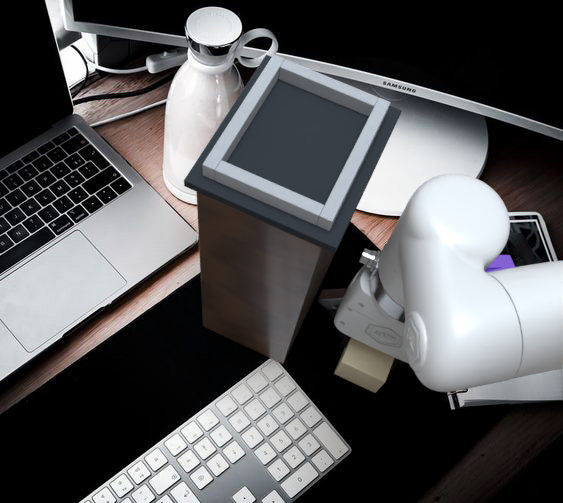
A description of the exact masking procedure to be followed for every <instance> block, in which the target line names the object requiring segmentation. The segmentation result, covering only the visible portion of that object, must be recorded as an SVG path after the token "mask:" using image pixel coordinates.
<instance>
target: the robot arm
mask: <svg viewBox="0 0 563 503" xmlns="http://www.w3.org/2000/svg"><path fill="white" fill-rule="evenodd" d="M510 230H511V219H510V214H509V211H508V208H507V207H506V205H505V202H504V201H503V199H502V198H501V196H500V195H499V194H498V193H497V192H496V190H495V189H493V188H492V187H491V186H490V185H488V184H487V183H486V182H484V181H482V180H480V179H478V178H477V177H473V176H471V175H467V174H462V173H444V174H440V175H436V176H434V177H431V178H429V179H428V180H425V181H424V182H423V183H422V184H421V185H420V186H419V187H417V188H416V189H415V191H414V192H413V193H412V195H411V196H410V197H409V199H408V201H407V203H406V205H405V207H404V209H403V211H402V213H401V215H400V216H399V218H398V219H397V222H396V223H395V226H394V228H393V229H392V232H391V233H390V236H389V237H388V239H387V241H386V242H385V243H384V246H383V248H382V249H381V250H377V251H376V250H370V249H367V248H364V250H363V251H362V254H361V256H360V258H359V260H358V262H359V263H360V264H363V266H361V268H360V269H359V270H358V271H357V273H356V274H355V275H354V276H353V278H352V280H351V282H349V285H348V286H347V287H344V288H342V287H341V288H332V289H331V288H329V289H322V290H321V292H320V294H319V296H318V299H317V302H318V303H319V304H320V305H321V306H322V307H323V308H324V309H326V310H327V311H330V312H329V316H330V317H331V318H332V319H333V324H334V326H335V328H336V329H337V330H338V333H337V337H339V338H341V341H340V342H339V346H338V348H340V349H342V350H344V349H345V347H346V346H347V344H348V342H349V340H350V339H351V337H352V338H354V339H356V340H358V341H360V342H362V343H364V344H366V345H368V346H371V347H373V348H375V349H377V350H379V351H381V352H384V353H386V354H388V355H390V356H392V357H395V358H394V360H393V363H392V366H391V368H390V371H389V372H392V370H394V369H395V367H396V366H397V365H400V366H402V365H403V364H404V363H407V364H409V367H410V368H411V369H412V371H413V372H414V374H415V376H416V377H417V379H418V381H419V382H420V383H421V384H422V385H423V386H425V387H426V388H428V389H429V390H431V391H435V392H439V393H449V392H450V393H451V392H457V391H458V392H459V391H463V390H469V389H474V388H477V387H482V386H487V385H491V384H497V383H502V382H505V381H510V380H512V379H519V378H522V377H527V376H532V375H537V374H542V373H546V372H553V371H558V370H561V377H560V384H561V385H560V386H561V399H562V400H563V260H553V261H546V262H541V263H540V262H537V263H533V264H527V265H519V266H515V267H514V268H508V269H503V270H497V271H492V272H485V270H486V269H487V268H488V267H489V266H490V264H491V263H492V262H493V261H494V260H495V259H496V258H497V257H498V255H501V253H502V252H503V250H504V248H505V247H506V245H507V242H508V239H509V236H510Z"/></svg>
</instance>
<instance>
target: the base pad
mask: <svg viewBox="0 0 563 503" xmlns="http://www.w3.org/2000/svg"><path fill="white" fill-rule="evenodd" d="M401 114H402V109H399V108H398V107H395V106H393V105H391V101H389V100H386V99H384V98H381V97H379V96H376V95H374V94H372V93H369V92H366V91H364V90H362V89H359V88H357V87H355V86H352V85H350V84H347V83H345V82H342V81H340V80H337V79H334V78H333V77H330V76H328V75H326V74H323V73H321V72H318V71H315V70H314V69H311V68H308V67H306V66H303V65H301V64H299V63H296V62H295V61H291V60H289V59H287V58H284V57H281V56H279V55H277V54H273V55H268V54H265V55H264V57H263V59H262V60H261V61H260V63H259V65H258V66H257V68H256V70H255V71H254V72H253V74H252V76H251V77H250V79H249V80H248V82H247V83H246V85H245V86H244V87H243V88H242V90H241V92H240V94H239V95H238V97H237V99H236V100H235V102H234V103H233V104H232V106H231V108H230V109H229V111H228V112H227V113H226V115H225V117H224V118H223V120H222V121H221V123H220V125H219V126H218V127H217V129H216V131H215V132H214V133H213V135H212V136H211V138H210V140H209V141H208V142H207V144H206V146H205V147H204V149H203V150H202V151H201V154H200V155H199V156H198V158H197V159H196V161H195V163H194V164H193V166H192V167H191V168H190V170H189V172H188V173H187V175H186V177H185V178H184V179H183V186H184V187H185V188H187V189H189V190H192V191H194V192H196V193H197V192H199V193H201V194H203V195H205V196H208V197H210V198H212V199H214V200H216V201H219V202H221V203H223V204H225V205H228V206H230V207H232V208H234V209H237V210H239V211H241V212H243V213H246V214H248V215H250V216H252V217H255V218H257V219H259V220H261V221H264V222H266V223H268V224H270V225H273V226H275V227H277V228H279V229H282V230H284V231H286V232H288V233H291V234H293V235H295V236H297V237H299V238H302V239H304V240H306V241H308V242H311V243H313V244H315V245H317V246H320V247H322V248H324V249H326V250H329V251H331V252H333V253H334V254H336V253H337V251H338V248H339V247H340V245H341V242H342V240H343V238H344V235H345V234H346V231H347V229H348V227H349V225H350V223H351V221H352V218H353V217H354V214H355V212H356V210H357V208H358V206H359V204H360V202H361V200H362V198H363V196H364V193H365V191H366V189H367V187H368V185H369V183H370V180H371V179H372V176H373V175H374V172H375V170H376V167H377V166H378V163H379V161H380V159H381V157H382V155H383V153H384V151H385V149H386V146H387V144H388V142H389V140H390V138H391V135H392V134H393V131H394V129H395V127H396V126H397V124H398V121H399V119H400V116H401Z"/></svg>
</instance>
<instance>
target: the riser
mask: <svg viewBox="0 0 563 503" xmlns="http://www.w3.org/2000/svg"><path fill="white" fill-rule="evenodd" d="M196 208H197V209H196V210H197V228H198V230H197V232H198V248H199V249H198V252H199V269H200V270H199V272H200V289H201V290H200V291H201V292H200V293H201V312H202V314H201V315H202V327H204V328H206V329H207V330H210V331H212V332H214V333H216V334H219V335H221V336H223V337H225V338H226V339H229V340H231V341H233V342H235V343H237V344H240V345H241V346H244V347H246V348H248V349H250V350H252V351H255V352H256V353H259V354H261V355H263V356H265V357H267V358H269V359H271V360H273V361H275V362H278V363H279V364H281V365H284V364H285V362H286V359H287V358H288V355H289V353H290V351H291V349H292V347H293V345H294V342H295V341H296V339H297V336H298V334H299V332H300V330H301V327H303V326H302V325H303V323H304V322H305V319H306V317H307V315H308V313H309V311H310V309H311V306H312V304H313V302H314V300H315V298H316V296H317V294H318V292H319V289H320V287H321V285H322V283H323V281H324V279H325V277H326V274H327V273H328V270H329V268H330V265H331V264H332V261H333V258H334V256H335V253H333V252H331V251H329V250H326V249H324V248H322V247H320V246H317V245H315V244H313V243H311V242H308V241H306V240H304V239H302V238H299V237H297V236H295V235H293V234H291V233H288V232H286V231H284V230H282V229H279V228H277V227H275V226H273V225H270V224H268V223H266V222H264V221H261V220H259V219H257V218H255V217H252V216H250V215H248V214H246V213H243V212H241V211H239V210H237V209H234V208H232V207H230V206H228V205H225V204H223V203H221V202H219V201H216V200H214V199H212V198H210V197H208V196H205V195H203V194H201V193H199V192H196Z"/></svg>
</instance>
